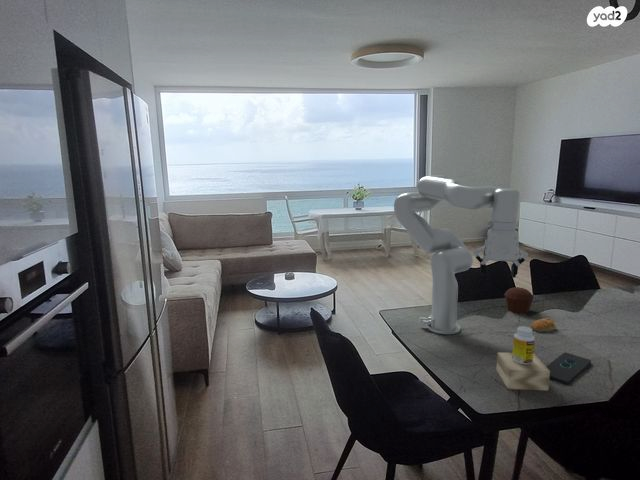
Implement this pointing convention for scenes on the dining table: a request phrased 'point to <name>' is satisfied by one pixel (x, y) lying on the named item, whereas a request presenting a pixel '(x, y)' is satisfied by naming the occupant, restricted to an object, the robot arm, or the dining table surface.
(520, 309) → the muffin
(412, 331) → the dining table surface
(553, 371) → the smart home device
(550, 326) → the pastry
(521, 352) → the supplement bottle
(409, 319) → the dining table surface
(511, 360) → the oak block
